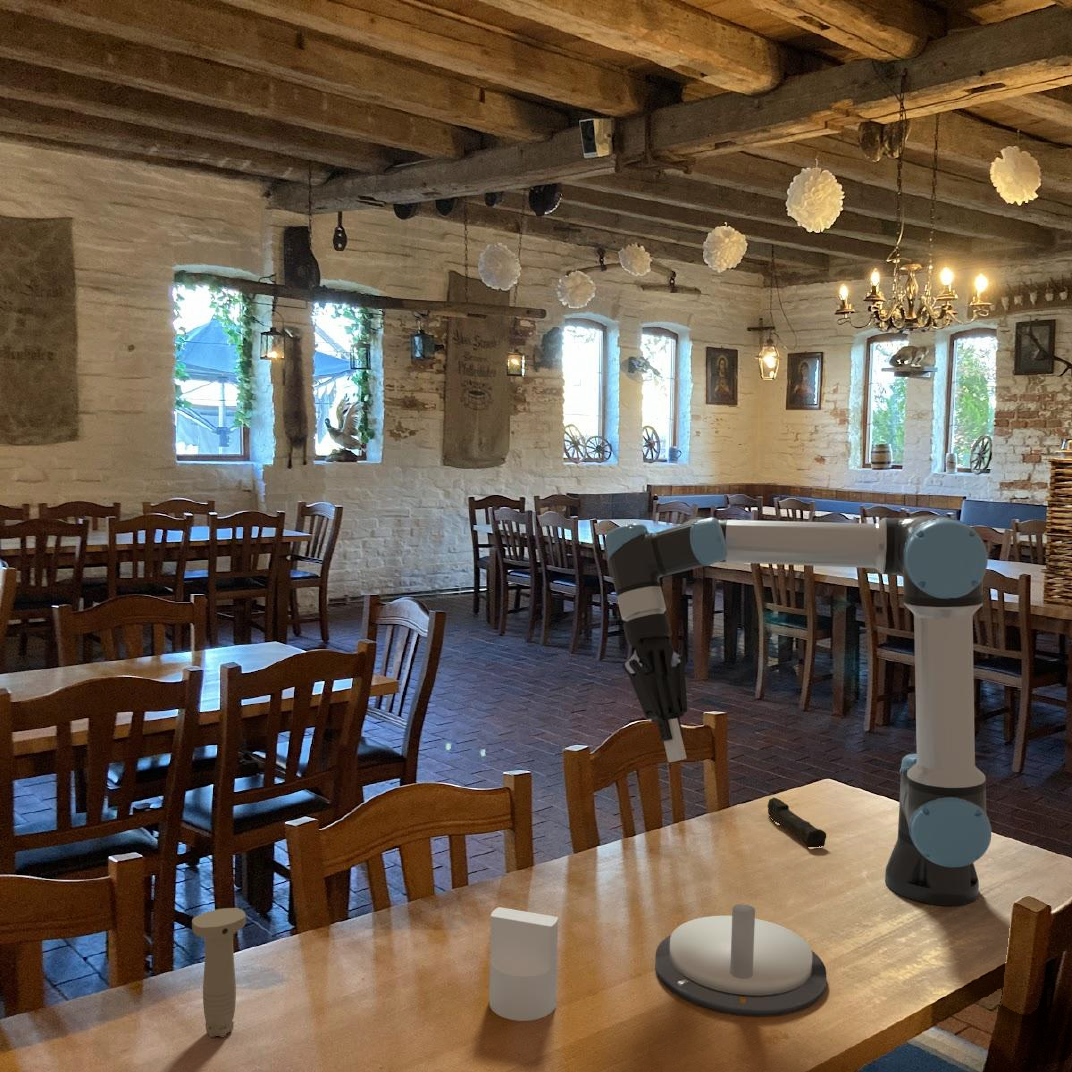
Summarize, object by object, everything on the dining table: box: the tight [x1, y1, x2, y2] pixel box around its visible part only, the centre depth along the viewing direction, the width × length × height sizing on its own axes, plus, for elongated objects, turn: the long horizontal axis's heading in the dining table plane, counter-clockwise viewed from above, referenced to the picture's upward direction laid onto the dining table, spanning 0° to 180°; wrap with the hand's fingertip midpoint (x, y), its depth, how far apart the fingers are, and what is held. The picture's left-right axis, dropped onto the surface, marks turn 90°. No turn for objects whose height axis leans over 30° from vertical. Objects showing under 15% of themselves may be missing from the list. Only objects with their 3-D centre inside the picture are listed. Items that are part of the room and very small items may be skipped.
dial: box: [670, 903, 813, 996], centre depth 152 cm, size 20×20×11 cm
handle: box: [191, 907, 247, 1038], centre depth 134 cm, size 5×6×15 cm
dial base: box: [654, 933, 827, 1017], centre depth 152 cm, size 24×24×2 cm
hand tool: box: [767, 797, 827, 848], centre depth 209 cm, size 19×4×5 cm, turn 13°
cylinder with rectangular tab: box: [489, 906, 559, 1022], centre depth 142 cm, size 9×9×12 cm
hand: (677, 760), depth 170 cm, fingers closed
